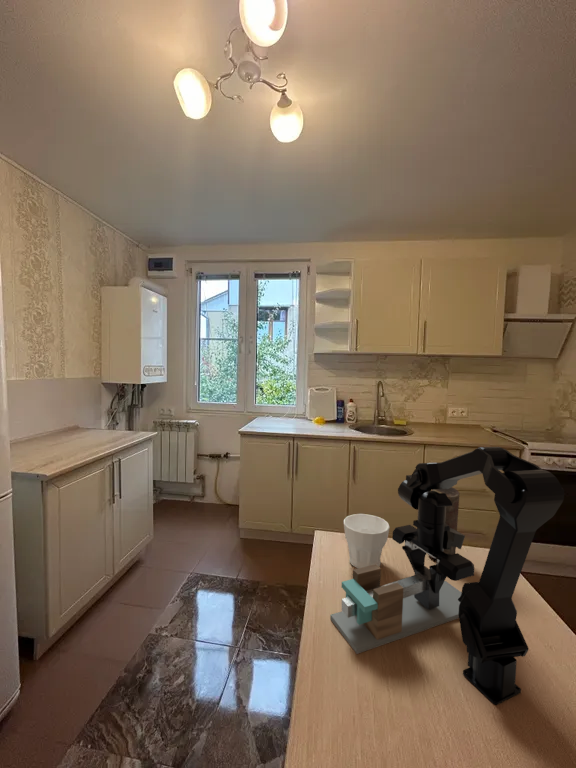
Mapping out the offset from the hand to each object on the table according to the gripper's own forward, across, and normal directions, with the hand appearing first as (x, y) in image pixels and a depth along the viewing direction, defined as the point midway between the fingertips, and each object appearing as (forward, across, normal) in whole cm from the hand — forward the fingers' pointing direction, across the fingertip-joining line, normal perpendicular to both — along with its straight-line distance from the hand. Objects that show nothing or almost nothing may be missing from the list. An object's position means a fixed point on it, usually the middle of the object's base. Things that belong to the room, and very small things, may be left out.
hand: (427, 586), depth 80 cm
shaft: (+4, 0, 0) cm, 5 cm away
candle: (+5, +15, -20) cm, 26 cm away
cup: (+5, +21, +2) cm, 22 cm away
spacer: (+2, 0, +19) cm, 19 cm away
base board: (+5, 0, +6) cm, 8 cm away
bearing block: (+5, 0, +14) cm, 15 cm away
